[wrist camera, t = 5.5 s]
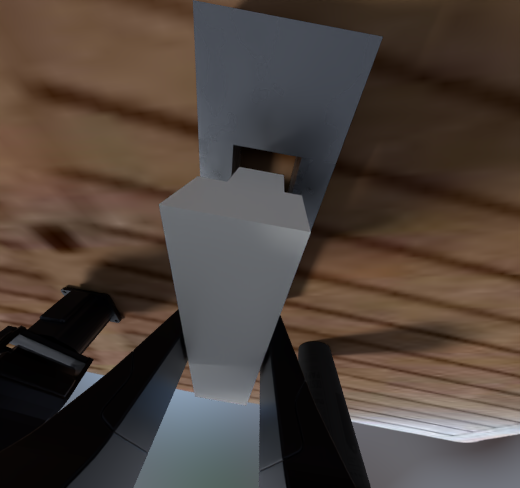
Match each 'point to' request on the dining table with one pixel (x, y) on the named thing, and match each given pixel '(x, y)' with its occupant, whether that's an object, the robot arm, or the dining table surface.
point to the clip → (232, 273)
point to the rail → (276, 92)
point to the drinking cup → (332, 406)
